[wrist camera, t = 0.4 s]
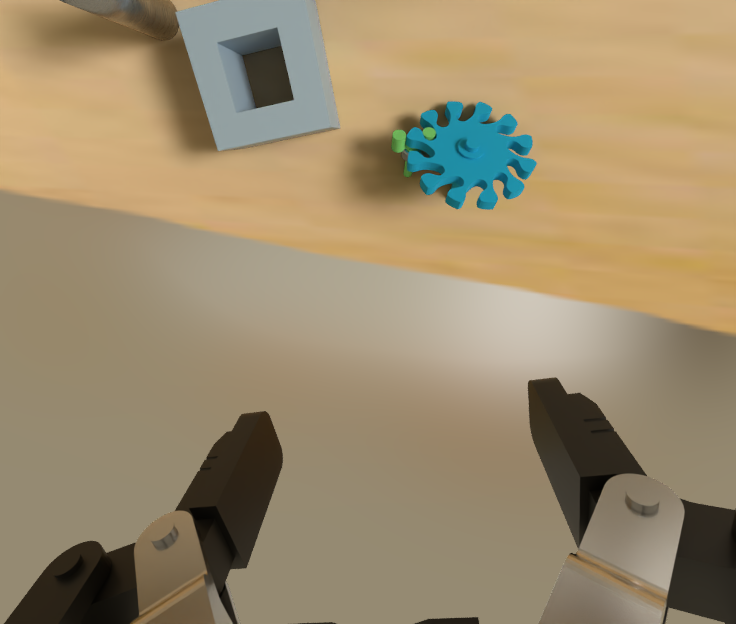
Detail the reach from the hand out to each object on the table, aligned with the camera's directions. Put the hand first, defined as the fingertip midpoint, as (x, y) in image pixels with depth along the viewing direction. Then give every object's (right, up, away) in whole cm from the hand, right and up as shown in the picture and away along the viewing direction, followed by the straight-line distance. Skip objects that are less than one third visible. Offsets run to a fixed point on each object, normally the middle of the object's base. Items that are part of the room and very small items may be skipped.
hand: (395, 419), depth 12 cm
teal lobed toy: (+7, +17, +22) cm, 29 cm away
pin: (-17, +27, +20) cm, 38 cm away
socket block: (-8, +22, +21) cm, 32 cm away
